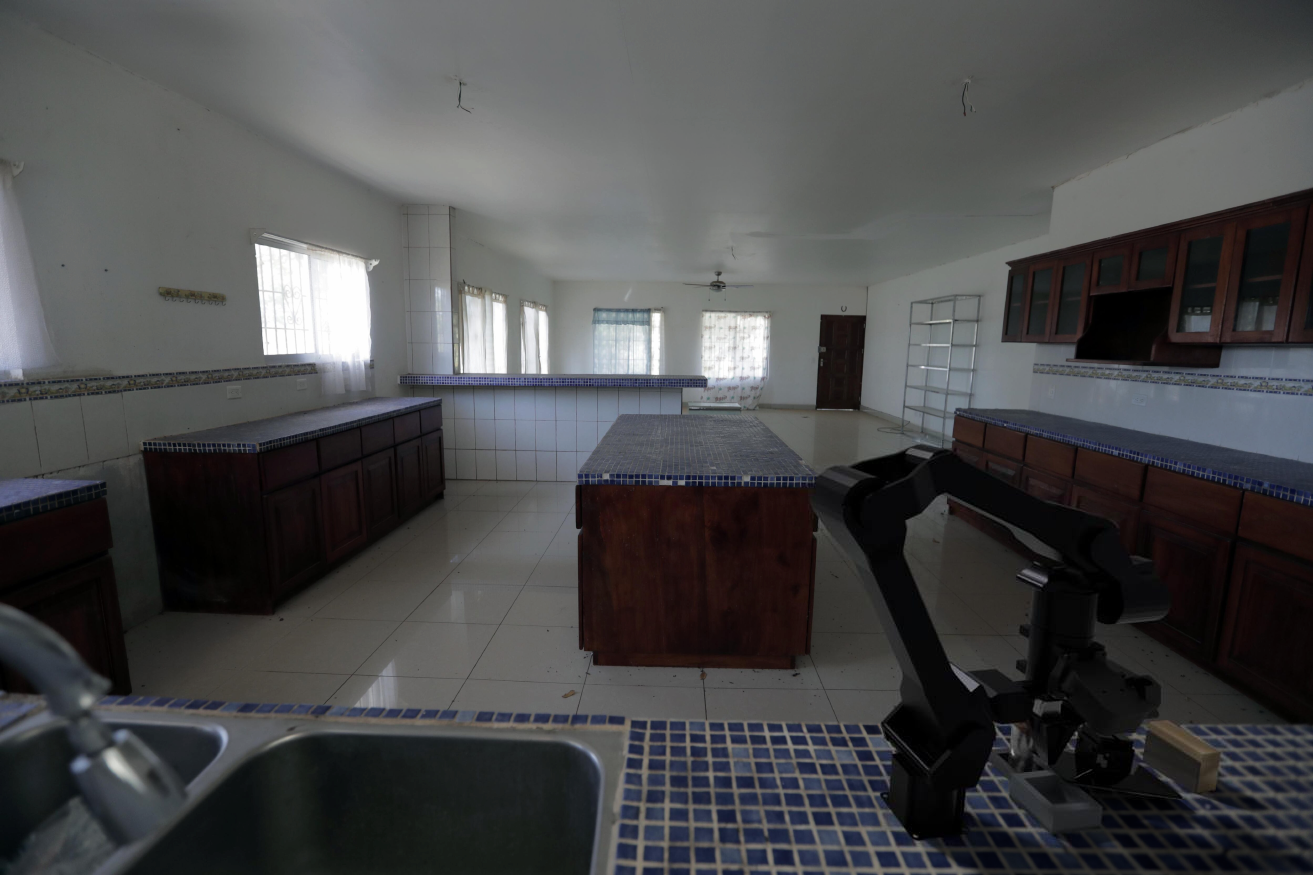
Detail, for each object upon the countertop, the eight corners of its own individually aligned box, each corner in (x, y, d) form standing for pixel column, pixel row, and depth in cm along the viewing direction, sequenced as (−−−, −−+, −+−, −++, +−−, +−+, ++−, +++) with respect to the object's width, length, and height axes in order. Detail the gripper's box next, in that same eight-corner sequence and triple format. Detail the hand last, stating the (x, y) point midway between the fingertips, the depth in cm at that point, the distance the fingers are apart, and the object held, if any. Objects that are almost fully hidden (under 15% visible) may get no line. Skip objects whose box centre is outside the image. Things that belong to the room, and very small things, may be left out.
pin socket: (1017, 787, 65) (1018, 779, 65) (985, 757, 70) (986, 749, 70) (1056, 782, 66) (1057, 774, 66) (1022, 753, 71) (1023, 745, 71)
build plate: (1066, 784, 62) (1073, 742, 62) (1023, 745, 69) (1030, 706, 69) (1183, 800, 62) (1191, 757, 62) (1128, 758, 69) (1135, 720, 69)
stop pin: (1018, 779, 67) (1024, 724, 66) (1000, 763, 69) (1005, 709, 69) (1040, 776, 67) (1046, 722, 66) (1020, 760, 70) (1026, 707, 69)
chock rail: (1194, 796, 64) (1200, 754, 64) (1142, 761, 70) (1147, 721, 70) (1214, 793, 65) (1220, 751, 64) (1161, 758, 71) (1167, 719, 70)
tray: (1051, 835, 59) (1054, 812, 58) (1009, 795, 64) (1011, 773, 64) (1099, 829, 60) (1102, 806, 59) (1054, 789, 65) (1056, 768, 65)
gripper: (1046, 672, 53) (1029, 831, 55) (1219, 657, 56) (1198, 808, 58) (961, 618, 64) (950, 752, 66) (1111, 608, 67) (1096, 736, 69)
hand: (1047, 762), depth 64 cm, fingers closed
